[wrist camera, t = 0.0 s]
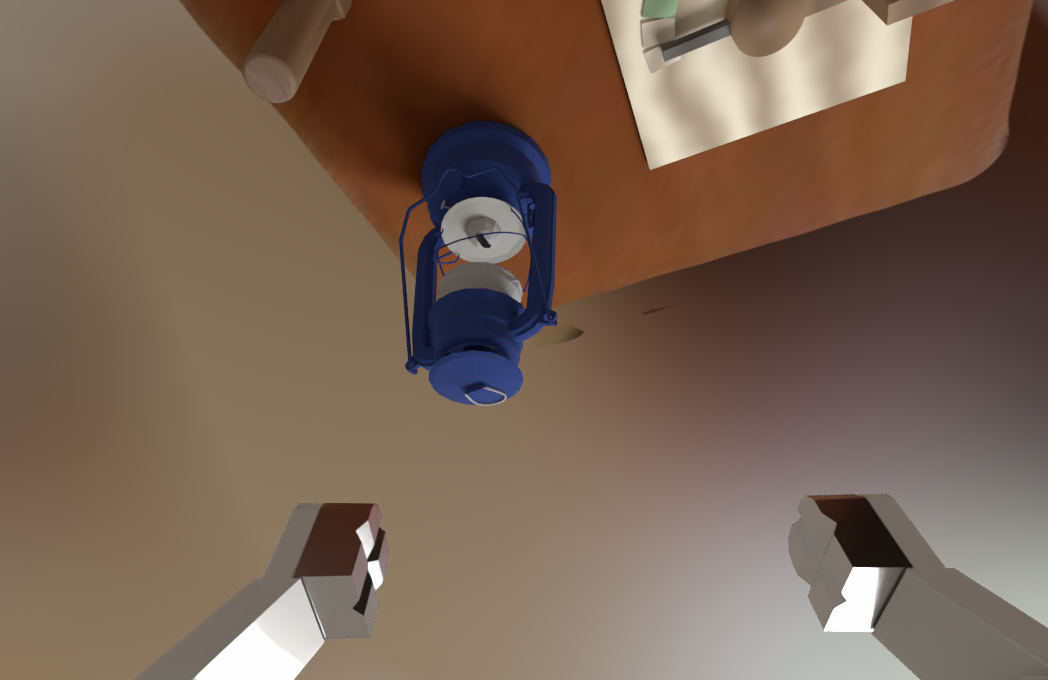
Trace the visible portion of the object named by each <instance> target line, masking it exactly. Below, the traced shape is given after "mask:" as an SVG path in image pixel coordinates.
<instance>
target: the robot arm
mask: <svg viewBox="0 0 1048 680" xmlns="http://www.w3.org/2000/svg"><path fill="white" fill-rule="evenodd" d="M798 511H799V513H800V515H801V517H802V518H800V519H799V520H798V521H796V522H795V523H794V524H792V526H791V529H790V533H789V537H788V541H789V553H790V557H791V560H792V563H793V566H794V568H795V570H796V572H797V574H798V576H800V577H801V578H802V579H803V580H805V581H806V582H807V583H808V584H810V585H811V588H810V592H809V595H808V598H809V600H810V602H811V604H812V606H813V608H814V610H815V612H816V614H817V616H818V619H819V621H820V623H821V625H822V627H823V629H824V630H825V631H873V632H872V633H871V634H872V635H873V636H875V638H877V639H878V640H879V641H880V642H881V643H882V644H883V645H884V646H885V647H886V648H887V649H888V650H889V651H890V652H891V653H893V654H894V655H895V656H896V657H897V658H898V659H899V660H900V661H901V662H902V663H903V664H904V665H905V666H906V667H907V668H908V669H910V670H911V671H912V672H913V673H914V674H915V675H916V676H917V677H918V678H919V679H920V680H1048V628H1047V627H1045V626H1044V625H1042V624H1041V623H1039V622H1038V621H1036V620H1034V619H1033V618H1031V617H1030V616H1028V615H1026V614H1025V613H1024V612H1022V611H1020V610H1019V609H1017V608H1016V607H1014V606H1013V605H1011V604H1009V603H1008V602H1006V601H1005V600H1003V599H1002V598H1000V597H999V596H997V595H995V594H994V593H992V592H991V591H989V590H988V589H986V588H984V587H983V586H981V585H980V584H978V583H976V582H975V581H973V580H972V579H970V578H969V577H967V576H966V575H964V574H963V573H961V572H959V571H958V570H956V569H955V568H945V567H944V565H943V564H942V563H941V561H940V560H939V558H938V557H937V556H936V554H935V553H934V552H933V550H932V549H931V548H930V546H929V545H928V543H927V542H926V541H925V539H924V538H923V537H922V536H921V534H920V533H919V532H918V530H917V529H916V527H915V526H914V525H913V523H912V522H911V521H910V519H909V518H908V517H907V515H906V514H905V513H904V511H903V510H902V509H901V507H900V506H899V504H898V503H897V502H896V500H895V499H894V498H893V497H891V496H890V495H888V494H859V495H856V494H841V495H808V496H805V497H804V498H803V499H801V501H800V503H799V506H798ZM381 517H382V515H381V511H380V508H379V505H378V504H363V503H360V504H359V503H324V504H323V503H299V504H298V505H297V506H296V507H295V509H293V511H292V513H291V515H290V517H289V519H288V521H287V524H286V526H285V528H284V530H283V532H282V535H281V537H280V539H279V541H278V544H277V546H276V548H275V550H274V553H273V555H272V557H271V559H270V561H269V564H268V566H267V568H266V570H265V573H264V575H263V577H262V579H253V580H252V581H251V582H250V583H248V584H247V585H246V586H245V587H244V588H242V589H241V590H240V591H239V592H238V593H236V594H235V595H234V596H233V597H232V598H231V599H229V600H228V601H227V602H226V603H225V604H223V605H222V606H221V607H220V608H219V609H218V610H217V611H215V612H214V613H213V614H212V615H210V616H209V617H208V618H207V619H206V620H204V621H203V622H202V623H201V624H200V625H199V626H197V627H196V628H195V629H194V630H192V631H191V632H190V633H189V634H188V635H187V636H185V637H184V638H183V639H182V640H181V641H180V642H178V643H177V644H176V645H175V646H174V647H172V648H171V649H170V650H169V651H168V652H166V653H165V654H164V655H163V656H162V657H160V658H159V659H158V660H157V661H156V662H155V663H153V664H152V665H151V666H150V667H148V668H147V669H146V670H145V671H144V672H143V673H141V674H140V675H139V676H138V677H137V678H136V679H134V680H294V678H295V677H296V676H297V675H298V674H299V672H300V671H301V670H302V669H303V667H304V666H305V665H306V664H307V663H308V661H309V660H310V659H311V658H312V656H313V655H314V654H315V653H316V652H317V650H318V649H319V648H320V647H321V646H322V644H323V643H324V639H340V638H362V637H363V638H364V637H370V636H371V632H372V628H373V623H374V619H375V615H376V611H377V607H378V600H377V596H376V592H375V589H376V588H378V586H379V585H380V584H381V583H382V582H383V581H384V577H385V573H386V568H387V558H388V557H387V556H388V545H387V544H388V543H387V537H386V532H385V531H384V530H383V529H381V528H380V527H379V525H380V521H381Z"/></svg>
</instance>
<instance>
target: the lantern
mask: <svg viewBox="0 0 1048 680" xmlns="http://www.w3.org/2000/svg"><path fill="white" fill-rule="evenodd" d="M550 187H551V173H550V168H549V164H548V159H547V158H546V157H545V155H544V154H543V152H542V151H541V149H540V148H539V146H538V145H537V144H536V142H535V141H534V140H533V139H532V138H530V137H529V136H527V135H525V134H524V133H522V132H521V131H519V130H518V129H516V128H514V127H513V126H511V125H506V124H502V123H497V122H493V121H472V122H468V123H466V124H463V125H460V126H458V127H455V128H453V129H450V130H447V131H446V132H445V133H444V134H443V135H442V136H441V137H440V138H439V139H438V140H437V141H436V142H435V143H434V144H433V145H432V146H431V147H430V148H429V150H428V152H427V155H426V158H425V161H424V164H423V168H422V188H423V194H424V196H425V197H424V198H422V199H421V200H419V201H418V202H416V203H415V204H413V205H412V206H410V207H409V208H408V210H407V212H406V216H405V220H404V224H403V227H402V231H401V235H400V239H399V244H400V257H401V271H402V283H403V298H404V310H405V324H406V337H407V351H408V362H407V363H406V365H405V367H406V369H407V370H408V371H409V372H411V373H412V374H414V375H416V374H417V369H418V368H419V367H420V366H421V367H423V368H425V369H427V370H430V372H429V381H430V383H431V385H432V386H433V388H434V390H435V391H436V392H438V393H439V394H440V395H442V396H444V397H446V398H448V399H450V400H452V401H454V402H459V403H463V404H470V405H483V406H485V405H494V404H499V403H501V402H503V401H505V400H506V399H508V398H510V397H512V396H513V395H515V394H516V393H517V392H518V391H519V390H520V387H521V385H522V382H523V377H522V372H521V371H520V369H519V368H518V364H519V361H520V353H521V350H522V347H523V341H524V340H526V339H528V338H530V337H532V336H533V335H535V334H537V333H538V332H539V331H540V330H541V329H542V327H543V326H550V325H552V326H554V327H555V326H557V320H556V319H557V313H556V312H554V311H552V310H551V305H552V298H553V291H554V279H555V244H556V208H557V196H556V194H555V192H554V191H553V190H552V189H551V188H550ZM424 201H427V204H428V211H429V213H430V219H431V221H432V222H433V224H434V225H435V227H436V228H434V229H432V230H431V231H430V232H429V233H428V234H427V235H426V236H425V237H424V239H423V241H422V243H421V245H420V247H419V250H418V259H417V273H416V286H415V300H414V314H413V327H412V342H413V356H412V357H411V347H410V346H411V345H410V333H409V319H408V306H407V293H406V280H405V267H404V254H403V237H404V233H405V229H406V225H407V221H408V217H409V214H410V212H411V210H412V209H413V208H415V207H416V206H418V205H419V204H421V203H423V202H424ZM532 234H533V236H532V239H531V238H530V236H531V235H532ZM525 240H527V241H528V244H529V248H530V256H531V261H530V270H529V276H528V280H527V283H526V286H525V288H524V290H523V291H522V288H521V285H520V282H519V280H518V279H517V278H516V277H515V276H514V275H513V274H512V273H511V272H510V271H509V270H507V269H505V268H503V267H501V266H499V265H495V264H493V263H499V262H502V261H505V260H507V259H509V258H511V257H513V256H514V255H515V254H517V253H518V252H519V250H520V249H521V248H522V247H523V245H524V243H525ZM531 240H532V242H531ZM444 244H446V245H444ZM445 246H447V247H448V248H449V249H450V250H451V252H449V253H447V254H445V255H443V256H441V257H439V250H440V249H441V248H443V247H445ZM452 253H454V254H455V255H457V256H458V258H457V259H456V261H455V262H448V263H442V262H440V261H439V259H441V258H443V257H445V256H447V255H450V254H452ZM459 257H460V258H462V259H464V260H466V261H470V262H471V263H466V264H461V265H459V266H457V267H455V268H454V269H452V270H450V271H448V272H447V273H446V275H445V274H444V273H443V270H442V267H441V264H451V263H456V262H457V260H458V259H459ZM437 260H438V262H437ZM437 263H439V265H440V269H441V272H442V274H443V276H444V277H443V279H442V280H441V281H440V285H439V296H440V299H438V300H437V302H436V286H437ZM440 263H441V264H440ZM528 281H529V286H528V299H527V308H526V309H524V307H523V306H522V304H521V303H520V302H521V298H522V294H523V292H524V291H525V290H526V287H527V284H528ZM551 317H552V318H551ZM412 365H413V367H412Z"/></svg>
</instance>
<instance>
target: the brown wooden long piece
mask: <svg viewBox="0 0 1048 680" xmlns="http://www.w3.org/2000/svg"><path fill="white" fill-rule="evenodd" d="M845 1H848V0H729V2H728V5H727V8H726V13H725V20H722V21H720V22H717V23H715V24H712V25H710V26H708V27H705V28H703V29H700V30H698V31H696V32H693V33H691V34H688V35H686V36H684V37H681V38H679V39H676V40H674V41H672V42H669V43H667V44H664V45H662V46H661V51H662V55H663V58H664V61H665V62H666V61H668V60H671V59H673V58H676V57H678V56H681V55H683V54H686V53H688V52H691V51H693V50H695V49H698V48H700V47H703V46H705V45H708V44H710V43H713V42H715V41H718V40H720V39H723V38H725V37H728V36H730V35H731V37H732V38H733V40H734V42H735V44H736V45H737V47H738V48H739V50H740V51H741V52H743V53H744V54H746V55H748V56H752V57H763V56H768V55H771V54H773V53H776V52H777V51H779V50H781V49H782V48H784V47H785V46H786V45H787V44H789V43H790V42H791V40H792V39H793V38H794V37H795V36H796V34H797V33H798V31H799V30H800V28H801V26H802V24H803V21H804V18H805V17H807V16H810V15H812V14H815V13H818V12H820V11H823V10H825V9H828V8H830V7H833V6H835V5H838V4H840V3H843V2H845ZM862 1H863V2H864V3H865V4H866V5H867V6H868V7H869V8H870V9H871V10H872V11H873V12H874V13H875V14H876V15H877V16H878V17H879V18H880V19H881V20H882V21H883V22H884V23H885V24H886V25H887V26H888V25H890V24H893V23H895V22H898V21H901V20H903V19H906V18H909V17H911V16H914V15H917V14H919V13H922V12H924V11H927V10H930V9H932V8H935V7H938V6H940V5H943V4H946V3H948V2H951V1H953V0H862Z"/></svg>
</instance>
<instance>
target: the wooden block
mask: <svg viewBox="0 0 1048 680" xmlns="http://www.w3.org/2000/svg"><path fill="white" fill-rule="evenodd" d="M351 4H352V0H284V1H283V3H282V4H281V6H280V7H279V9H278V10H277V12H276V13H275V15H274V16H273V18H272V19H271V21H270V22H269V24H268V25H267V27H266V28H265V30H264V31H263V33H262V34H261V36H260V37H259V39H258V40H257V42H256V43H255V45H254V46H253V47H252V49H251V50H250V52H249V53H248V55H247V56H246V58H245V59H244V62H243V66H242V70H243V77H244V79H245V82H246V84H247V85H248V87H249V88H250V89H251V90H252V92H254V93H255V94H256V95H257V96H258V97H260V98H262V99H263V100H265V101H268V102H272V103H283V102H286V101H288V100H290V99H291V98H292V97H293V96H294V95H295V93H296V91H297V89H298V87H299V85H300V83H301V81H302V79H303V77H304V75H305V73H306V71H307V69H308V67H309V65H310V63H311V61H312V59H313V57H314V55H315V54H316V52H317V50H318V48H319V46H320V44H321V42H322V40H323V38H324V36H325V34H326V32H327V30H328V28H329V26H330V24H331V22H332V21H335V20H339V19H344V18H345V17H346V15H347V13H348V11H349V9H350V6H351Z"/></svg>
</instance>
